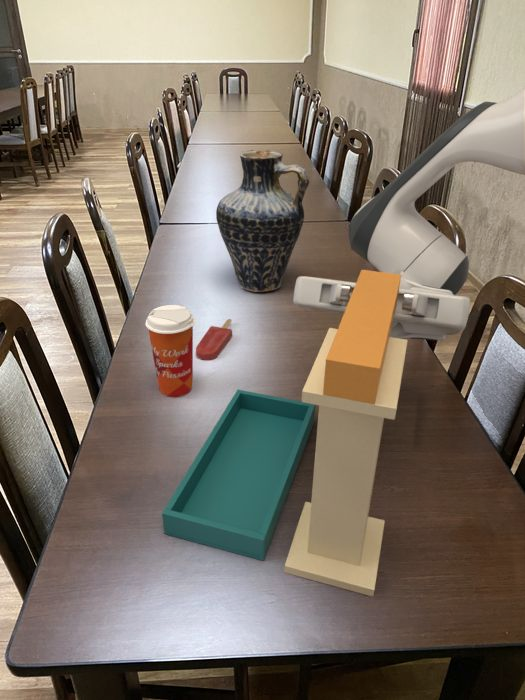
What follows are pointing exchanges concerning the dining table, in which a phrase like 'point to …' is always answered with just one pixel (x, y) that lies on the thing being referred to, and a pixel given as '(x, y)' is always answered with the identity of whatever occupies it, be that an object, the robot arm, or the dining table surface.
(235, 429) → the tray
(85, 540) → the dining table surface
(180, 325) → the paper cup
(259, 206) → the jug
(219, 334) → the popsicle
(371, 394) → the orange rectangular bar
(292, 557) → the stand
